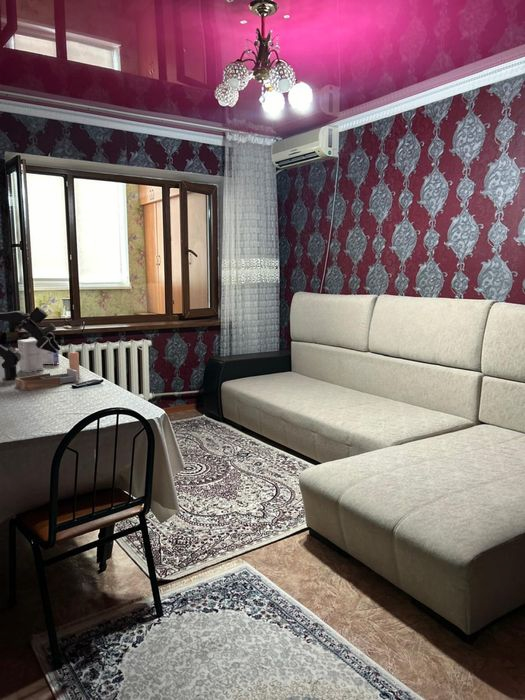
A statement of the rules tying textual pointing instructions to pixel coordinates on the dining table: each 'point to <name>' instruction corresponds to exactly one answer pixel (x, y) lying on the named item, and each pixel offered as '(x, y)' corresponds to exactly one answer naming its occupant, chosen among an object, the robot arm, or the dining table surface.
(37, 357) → the supplement box
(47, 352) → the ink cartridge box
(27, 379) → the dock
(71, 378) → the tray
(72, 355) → the canister
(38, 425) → the dining table surface
